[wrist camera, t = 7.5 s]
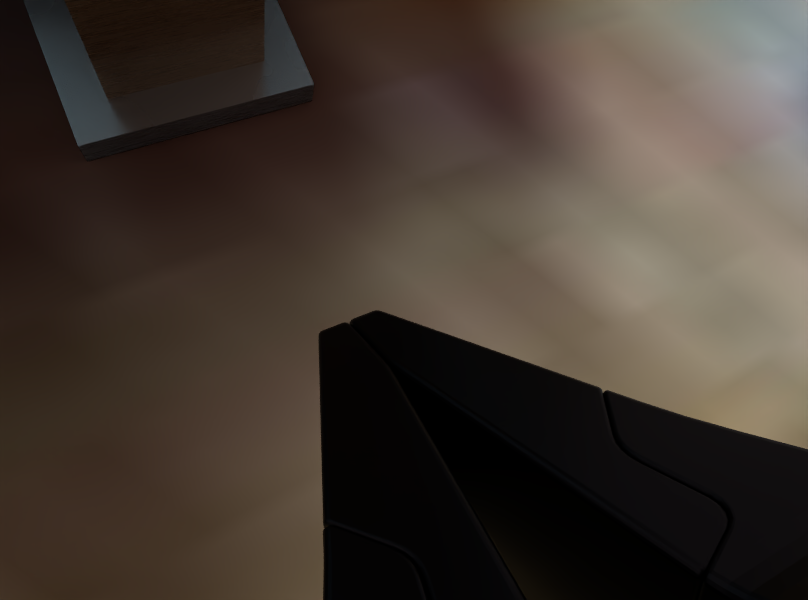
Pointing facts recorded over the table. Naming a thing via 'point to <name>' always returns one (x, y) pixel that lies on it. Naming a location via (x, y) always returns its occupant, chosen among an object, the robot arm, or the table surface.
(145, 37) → the sweeper
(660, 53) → the table surface
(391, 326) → the robot arm
